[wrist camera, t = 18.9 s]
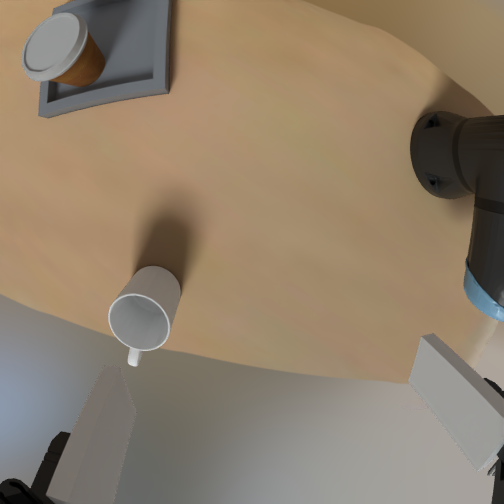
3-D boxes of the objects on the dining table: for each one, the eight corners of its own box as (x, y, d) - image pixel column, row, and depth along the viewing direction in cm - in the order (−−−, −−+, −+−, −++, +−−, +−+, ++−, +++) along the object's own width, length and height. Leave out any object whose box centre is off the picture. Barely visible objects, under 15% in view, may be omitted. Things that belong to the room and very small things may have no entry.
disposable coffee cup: (72, 109, 34) (29, 95, 22) (53, 67, 31) (12, 46, 20) (125, 71, 33) (93, 41, 22) (102, 30, 31) (71, -4, 19)
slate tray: (173, -14, 30) (171, -24, 27) (168, 93, 36) (164, 88, 33) (61, 14, 28) (53, 8, 26) (48, 118, 34) (38, 116, 31)
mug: (136, 258, 41) (112, 284, 31) (186, 274, 43) (176, 305, 33) (123, 326, 44) (102, 363, 34) (168, 341, 45) (157, 382, 35)
